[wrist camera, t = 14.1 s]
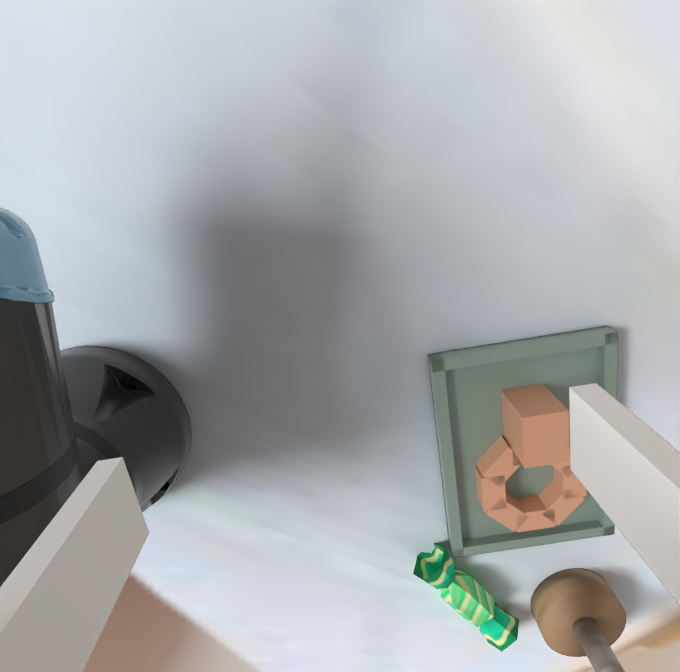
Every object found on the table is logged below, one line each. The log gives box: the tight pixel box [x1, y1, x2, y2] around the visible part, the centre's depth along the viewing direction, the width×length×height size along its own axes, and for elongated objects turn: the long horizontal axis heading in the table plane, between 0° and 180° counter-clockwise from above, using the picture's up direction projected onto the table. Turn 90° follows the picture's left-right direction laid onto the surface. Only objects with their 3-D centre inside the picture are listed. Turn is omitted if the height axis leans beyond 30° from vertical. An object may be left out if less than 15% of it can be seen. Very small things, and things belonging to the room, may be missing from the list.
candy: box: [413, 544, 519, 651], centre depth 49 cm, size 12×3×4 cm
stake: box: [531, 569, 626, 672], centre depth 45 cm, size 8×8×14 cm
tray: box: [428, 326, 618, 558], centre depth 45 cm, size 20×15×2 cm
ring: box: [475, 384, 586, 532], centre depth 43 cm, size 9×13×5 cm
